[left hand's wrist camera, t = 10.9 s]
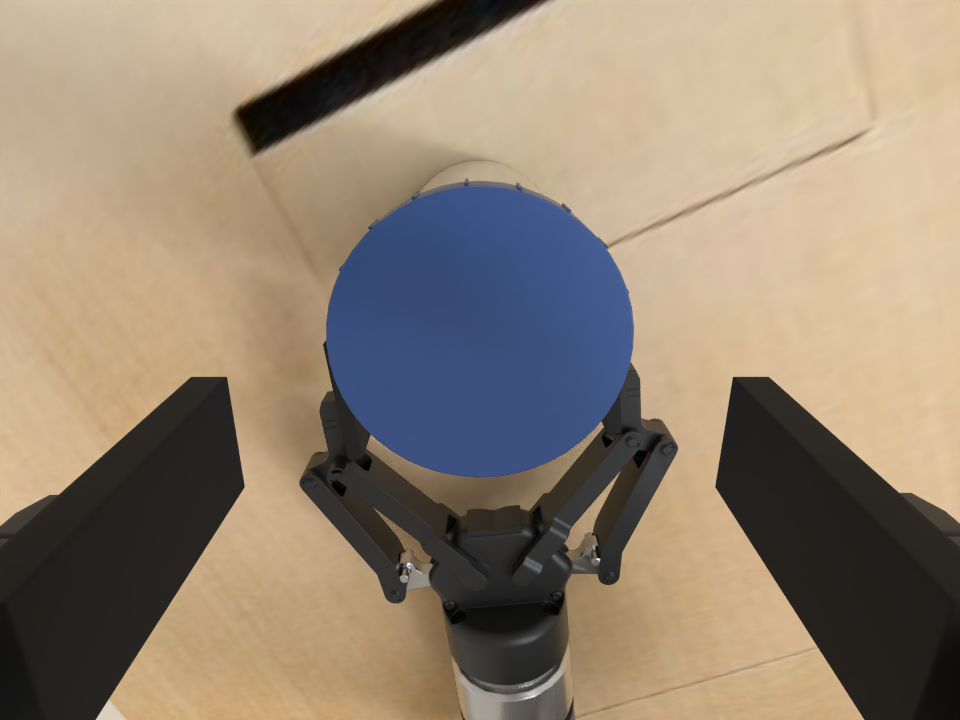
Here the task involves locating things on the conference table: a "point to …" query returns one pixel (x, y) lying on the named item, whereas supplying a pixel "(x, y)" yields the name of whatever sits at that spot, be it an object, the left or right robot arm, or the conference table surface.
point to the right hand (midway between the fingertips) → (469, 319)
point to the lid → (479, 329)
